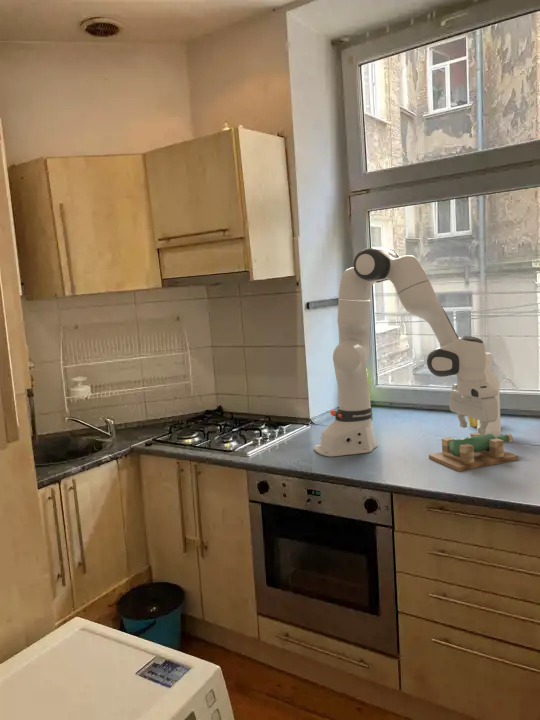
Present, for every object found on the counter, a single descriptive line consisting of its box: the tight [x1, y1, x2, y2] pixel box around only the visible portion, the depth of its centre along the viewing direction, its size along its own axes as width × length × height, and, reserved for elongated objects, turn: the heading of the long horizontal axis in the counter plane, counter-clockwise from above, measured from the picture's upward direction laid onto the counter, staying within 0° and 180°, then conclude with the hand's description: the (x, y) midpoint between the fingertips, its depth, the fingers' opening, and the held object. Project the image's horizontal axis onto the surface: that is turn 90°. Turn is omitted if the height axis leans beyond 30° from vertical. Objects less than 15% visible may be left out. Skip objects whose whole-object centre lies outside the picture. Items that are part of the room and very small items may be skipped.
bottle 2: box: [449, 433, 514, 456], centre depth 197 cm, size 21×5×5 cm, turn 109°
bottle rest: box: [428, 431, 519, 472], centre depth 197 cm, size 22×16×6 cm
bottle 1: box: [477, 352, 502, 437], centre depth 221 cm, size 8×8×30 cm
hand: (472, 430), depth 197 cm, fingers open, 8 cm apart
